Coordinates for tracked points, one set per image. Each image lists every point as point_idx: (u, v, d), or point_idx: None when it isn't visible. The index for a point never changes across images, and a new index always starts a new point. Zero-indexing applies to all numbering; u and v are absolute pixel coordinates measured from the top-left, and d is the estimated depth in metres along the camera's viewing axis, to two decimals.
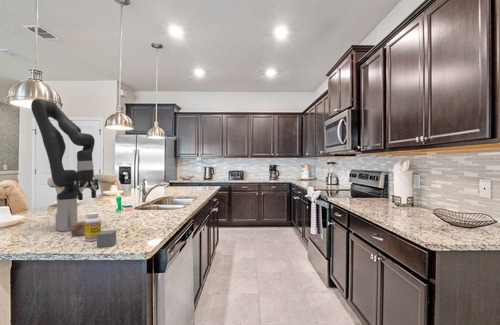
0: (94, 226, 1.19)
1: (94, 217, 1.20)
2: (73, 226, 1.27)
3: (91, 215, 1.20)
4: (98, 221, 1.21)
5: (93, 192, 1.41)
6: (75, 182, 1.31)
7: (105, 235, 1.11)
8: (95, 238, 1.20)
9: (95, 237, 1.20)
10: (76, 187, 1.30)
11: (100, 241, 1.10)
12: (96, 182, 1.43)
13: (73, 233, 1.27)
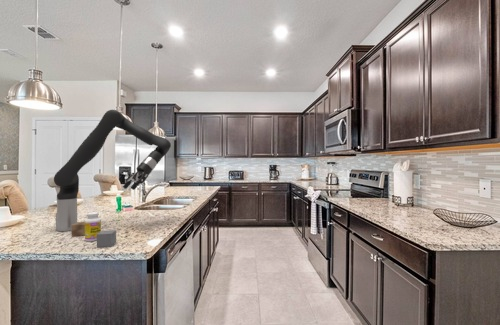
0: (94, 226, 1.19)
1: (94, 217, 1.20)
2: (73, 226, 1.27)
3: (91, 215, 1.20)
4: (98, 221, 1.21)
5: (128, 184, 1.40)
6: (146, 175, 1.37)
7: (105, 235, 1.11)
8: (95, 238, 1.20)
9: (95, 237, 1.20)
10: (144, 179, 1.36)
11: (100, 241, 1.10)
12: None
13: (73, 233, 1.27)
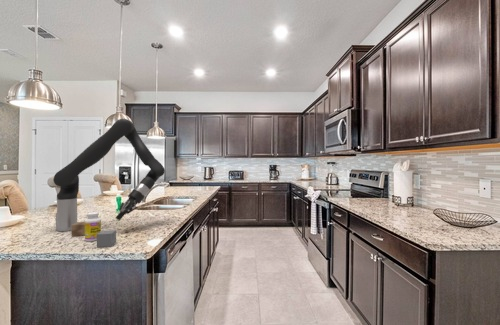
0: (94, 226, 1.19)
1: (94, 217, 1.20)
2: (73, 226, 1.27)
3: (91, 215, 1.20)
4: (98, 221, 1.21)
5: None
6: (134, 207, 1.33)
7: (105, 235, 1.11)
8: (95, 238, 1.20)
9: (95, 237, 1.20)
10: (130, 211, 1.33)
11: (100, 241, 1.10)
12: None
13: (73, 233, 1.27)
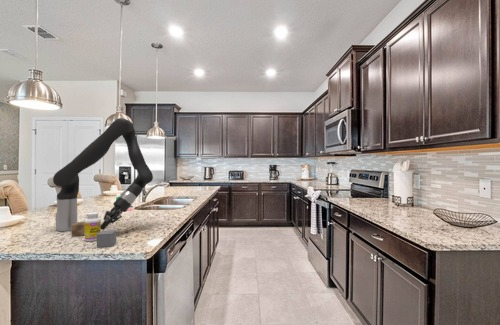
0: (94, 226, 1.19)
1: (94, 217, 1.20)
2: (73, 226, 1.27)
3: (91, 215, 1.19)
4: (98, 221, 1.21)
5: None
6: (119, 216, 1.26)
7: (105, 235, 1.11)
8: (95, 238, 1.20)
9: (95, 237, 1.19)
10: (115, 220, 1.26)
11: (100, 241, 1.10)
12: None
13: (73, 233, 1.27)
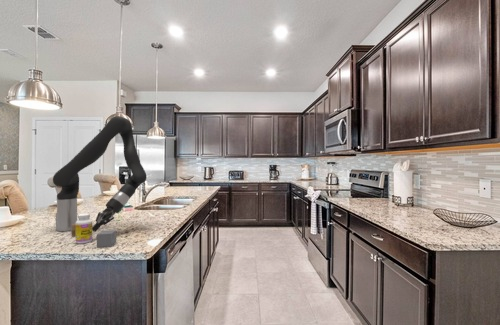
0: (85, 228, 1.16)
1: (85, 219, 1.17)
2: (73, 226, 1.27)
3: (82, 217, 1.16)
4: (89, 223, 1.18)
5: None
6: (111, 218, 1.23)
7: (105, 235, 1.11)
8: (86, 240, 1.16)
9: (86, 239, 1.16)
10: (107, 221, 1.23)
11: (100, 241, 1.10)
12: None
13: (73, 233, 1.27)
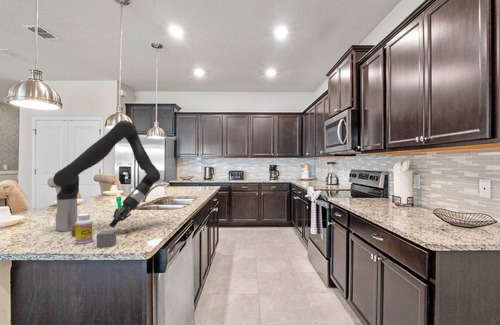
0: (85, 228, 1.16)
1: (85, 219, 1.17)
2: (73, 226, 1.27)
3: (82, 217, 1.16)
4: (89, 223, 1.18)
5: None
6: (128, 214, 1.30)
7: (105, 235, 1.11)
8: (86, 240, 1.16)
9: (86, 239, 1.16)
10: (124, 218, 1.30)
11: (100, 241, 1.10)
12: None
13: (73, 233, 1.27)
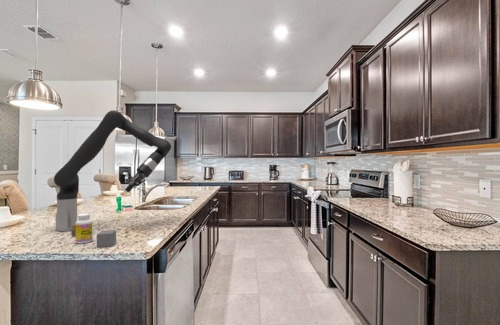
0: (85, 228, 1.16)
1: (85, 219, 1.17)
2: (73, 226, 1.27)
3: (82, 217, 1.16)
4: (89, 223, 1.18)
5: None
6: (143, 180, 1.37)
7: (105, 235, 1.11)
8: (86, 240, 1.16)
9: (86, 239, 1.16)
10: (139, 183, 1.37)
11: (100, 241, 1.10)
12: None
13: (73, 233, 1.27)
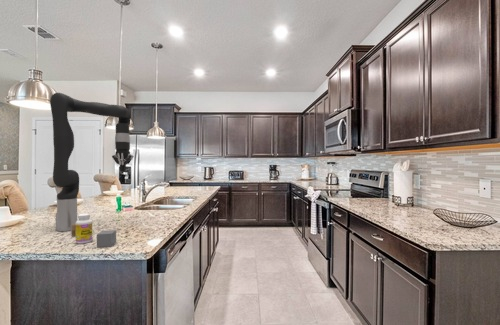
0: (85, 228, 1.16)
1: (85, 219, 1.17)
2: (73, 226, 1.27)
3: (82, 217, 1.16)
4: (89, 223, 1.18)
5: None
6: (131, 157, 1.43)
7: (105, 235, 1.11)
8: (86, 240, 1.16)
9: (86, 239, 1.16)
10: (130, 160, 1.44)
11: (100, 241, 1.10)
12: None
13: (73, 233, 1.27)
